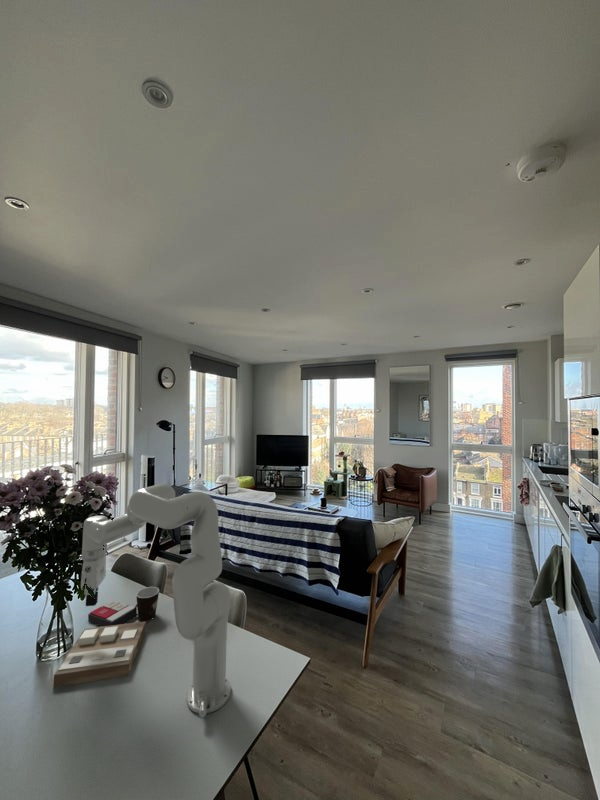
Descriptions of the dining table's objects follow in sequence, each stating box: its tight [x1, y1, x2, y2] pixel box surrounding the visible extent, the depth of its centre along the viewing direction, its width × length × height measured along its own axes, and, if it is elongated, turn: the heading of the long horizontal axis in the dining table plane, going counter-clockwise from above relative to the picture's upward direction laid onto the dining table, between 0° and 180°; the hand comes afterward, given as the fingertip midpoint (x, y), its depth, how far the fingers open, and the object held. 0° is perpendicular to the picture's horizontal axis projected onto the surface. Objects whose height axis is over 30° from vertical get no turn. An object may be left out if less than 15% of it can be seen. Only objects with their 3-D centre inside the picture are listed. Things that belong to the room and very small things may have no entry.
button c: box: [79, 629, 98, 646], centre depth 113 cm, size 4×4×4 cm
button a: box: [120, 629, 137, 640], centre depth 116 cm, size 4×4×4 cm
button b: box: [100, 626, 118, 643], centre depth 115 cm, size 4×4×4 cm
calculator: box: [87, 599, 138, 627], centre depth 131 cm, size 11×4×15 cm
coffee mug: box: [134, 586, 160, 622], centre depth 131 cm, size 12×9×10 cm
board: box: [53, 621, 146, 688], centre depth 111 cm, size 22×21×4 cm
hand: (91, 604), depth 114 cm, fingers closed
